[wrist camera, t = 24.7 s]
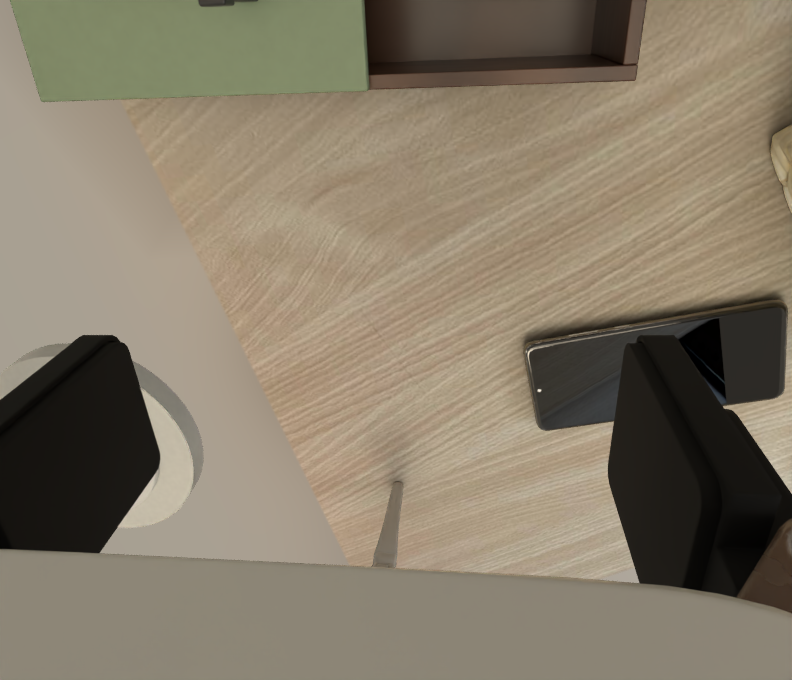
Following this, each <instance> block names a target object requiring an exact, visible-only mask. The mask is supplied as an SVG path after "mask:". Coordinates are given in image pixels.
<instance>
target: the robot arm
mask: <svg viewBox="0 0 792 680" xmlns="http://www.w3.org/2000/svg"><path fill="white" fill-rule="evenodd" d="M159 474H160V451H159V447H158V444H157V441H156V437H155V434H154V431H153V428H152V424H151V421H150V418H149V414H148V411H147V408H146V405H145V401H144V398H143V395H142V391H141V388H140V385H139V382H138V378H137V375H136V372H135V369H134V365H133V362H132V359H131V355H130V352H129V350H128V347H127V346H126V345H125V344H124V343H122V342H120V341H119V340H118V338H117V337H115V336H113V335H83V336H81V337H79V338H78V339H76V340H75V341H74V342H73V343H71V344H70V345H69V346H68V347H66V348H65V349H64V350H62V351H61V352H60V353H59V354H57V355H56V356H55V357H54V358H52V359H51V360H50V361H49V362H47V363H46V364H45V365H44V366H42V367H41V368H40V369H39V370H37V371H36V372H35V373H33V374H32V375H31V376H30V377H28V378H27V379H26V380H25V381H23V382H22V383H21V384H20V385H18V386H17V387H16V388H15V389H13V390H12V391H11V392H10V393H8V394H7V395H6V396H4V397H3V398H2V399H1V400H0V680H792V494H791V492H790V491H789V490H788V488H787V487H786V485H785V484H784V482H783V481H782V479H781V478H780V477H779V475H778V474H777V472H776V471H775V469H774V468H773V466H772V465H771V463H770V462H769V461H768V459H767V458H766V456H765V455H764V453H763V452H762V450H761V449H760V448H759V446H758V445H757V443H756V442H755V440H754V439H753V437H752V436H751V434H750V433H749V432H748V430H747V429H746V427H745V426H744V424H743V423H742V421H741V420H740V419H739V417H738V416H737V415H736V414H735V413H734V412H733V411H732V410H728V409H724V408H723V406H722V405H721V403H720V402H719V400H718V399H717V397H716V396H715V394H714V393H713V391H712V390H711V388H710V387H709V385H708V384H707V382H706V381H705V379H704V378H703V376H702V375H701V373H700V372H699V370H698V369H697V367H696V366H695V364H694V363H693V361H692V360H691V358H690V357H689V355H688V354H687V352H686V351H685V349H684V348H683V346H682V345H681V343H680V342H679V340H678V339H677V337H675V336H674V335H639V336H638V337H637V340H636V343H627V344H626V346H625V349H624V354H623V362H622V369H621V376H620V383H619V390H618V397H617V404H616V412H615V419H614V426H613V433H612V440H611V447H610V455H609V462H608V478H609V484H610V488H611V491H612V494H613V497H614V501H615V504H616V507H617V511H618V514H619V517H620V520H621V524H622V527H623V530H624V533H625V537H626V540H627V543H628V547H629V550H630V553H631V556H632V560H633V563H634V566H635V569H636V573H637V576H638V579H639V583H629V582H616V581H604V580H593V579H582V578H569V577H551V576H533V575H514V574H496V573H478V572H460V571H441V570H423V569H405V568H386V567H366V566H345V565H325V564H304V563H284V562H263V561H243V560H241V561H240V560H221V559H201V558H181V557H162V556H142V555H141V556H140V555H122V554H102V553H100V551H101V550H102V548H103V547H104V546H105V544H106V543H107V541H108V540H109V539H110V537H111V536H112V534H113V533H114V531H115V530H116V529H117V527H118V526H119V524H120V523H121V522H122V520H123V519H124V517H125V516H126V515H127V513H128V512H129V510H130V509H131V508H133V507H136V506H137V505H139V504H140V503H142V502H143V501H144V500H145V499H146V498H147V497H148V496H149V494H150V493H151V492H152V490H153V489H154V487H155V485H156V484H157V482H158V478H159Z"/></svg>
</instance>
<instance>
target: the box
mask: <svg viewBox="0 0 792 680" xmlns="http://www.w3.org/2000/svg"><path fill="white" fill-rule="evenodd" d="M646 2H647V0H364V4H365V21H366V38H367V55H368V72H369V90H373V89H403V88H433V87H463V86H493V85H523V84H553V83H583V82H613V81H635V80H636V74H637V67H638V65H636V64H638V59H639V52H640V45H641V38H642V31H643V23H644V16H645V9H646Z"/></svg>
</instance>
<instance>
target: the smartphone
mask: <svg viewBox="0 0 792 680" xmlns="http://www.w3.org/2000/svg"><path fill="white" fill-rule="evenodd" d="M787 323H788V308H787V305H786V304H785V303H784V302H783V301H781V300H779V299H773V300H766V301H760V302H755V303H749V304H743V305H737V306H732V307H726V308H720V309H714V310H709V311H703V312H697V313H691V314H686V315H680V316H674V317H668V318H662V319H657V320H651V321H645V322H639V323H634V324H627V325H622V326H616V327H611V328H605V329H599V330H593V331H587V332H581V333H576V334H570V335H565V336H559V337H553V338H547V339H541V340H536V341H531V342H529V343H527V344H526V345H525V347H524V351H523V353H524V360H525V365H526V370H527V376H528V381H529V386H530V392H531V397H532V402H533V408H534V413H535V418H536V423H537V425H538V427H539V428H540V429H542V430H545V431H550V430H557V429H564V428H571V427H578V426H585V425H592V424H599V423H606V422H613V421H614V419H615V412H616V404H617V397H618V390H619V383H620V376H621V369H622V362H623V354H624V349H625V346H626V344H627V343H636V340H637V337H638V336H639V335H674V336H675V337H677V339H678V340H679V342H680V343H681V345H682V346H683V348H684V349H685V351H686V352H687V354H688V355H689V357H690V358H691V360H692V361H693V363H694V364H695V366H696V367H697V369H698V370H699V372H700V373H701V375H702V376H703V378H704V379H705V381H706V382H707V384H708V385H709V387H710V388H711V390H712V391H713V393H714V394H715V396H716V397H717V399H718V400H719V402H720V403H721V405H722V406H727V405H734V404H741V403H748V402H755V401H763V400H770V399H775V398H778V397H779V396H781V395H782V394H783V392H784V389H785V368H786V345H787Z"/></svg>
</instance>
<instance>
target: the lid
mask: <svg viewBox="0 0 792 680" xmlns="http://www.w3.org/2000/svg"><path fill="white" fill-rule="evenodd" d="M10 2H11V5H12V8H13V12H14V15H15V18H16V21H17V24H18V28H19V31H20V34H21V38H22V41H23V44H24V47H25V51H26V54H27V57H28V60H29V63H30V67H31V70H32V73H33V77H34V79H35V83H36V86H37V89H38V93H39V96H40V99H41V101H42V102H55V101H86V100H112V99H113V100H115V99H146V98H177V97H207V96H237V95H267V94H298V93H328V92H358V91H368V90H369V72H368V55H367V38H366V21H365V4H364V0H10Z"/></svg>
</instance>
